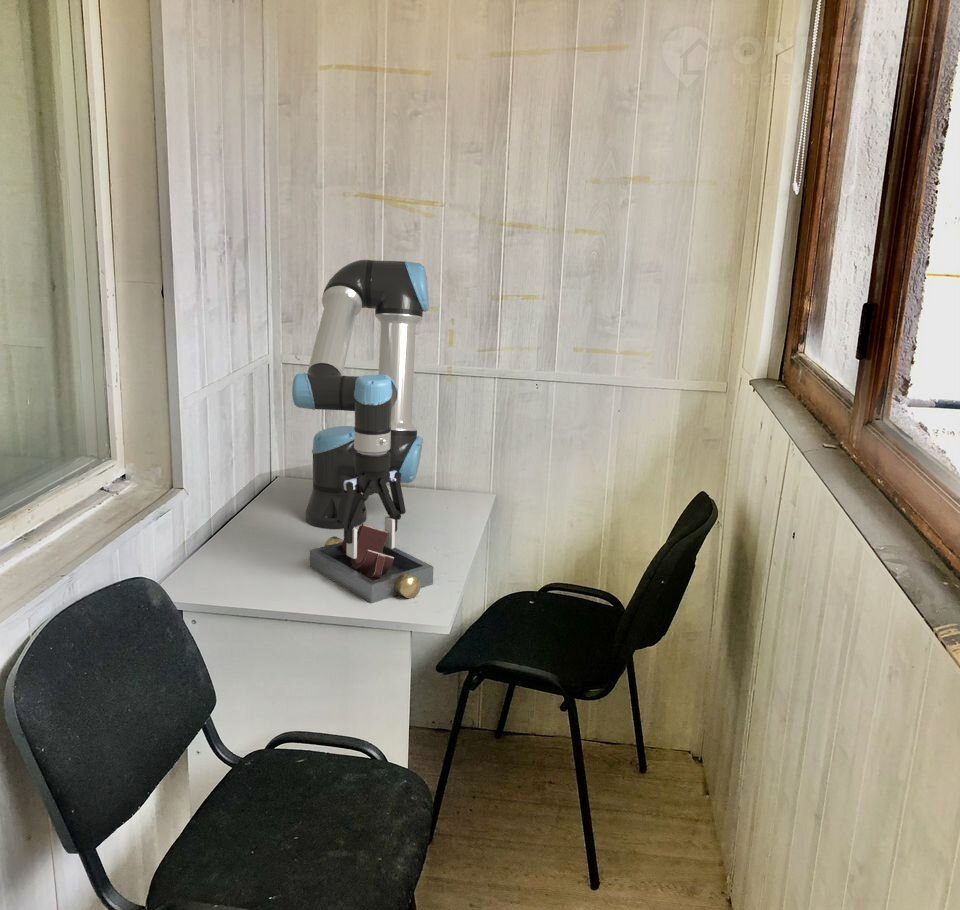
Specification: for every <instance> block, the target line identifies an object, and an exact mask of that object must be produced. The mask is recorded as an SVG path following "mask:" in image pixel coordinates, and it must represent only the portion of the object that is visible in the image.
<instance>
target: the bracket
mask: <svg viewBox="0 0 960 910" xmlns="http://www.w3.org/2000/svg"><path fill="white" fill-rule="evenodd" d="M387 535H388V531H385V529H381V528H378V527H375V526H373V525H368V524H365V523H362V524H360V525H359V526H358V528H357V558H356V559H353V558H352V566H353V567H354V568H356V569H359V570H360V573H362V574H365V575H367V576H369V577H372V578H375V579H379V578H380V577H381V576H383V575H385V574H386V573H387V572H388V571H389V569H390V567H391V565H392V563H393V560H394V557H391V556H388V555H385V554H382V551H383V548H384V545H385V541H386V538H387ZM342 540H343V544H342V547H343V551H344V552H345V554H346V555H347V543H346V542H344V539H342Z"/></svg>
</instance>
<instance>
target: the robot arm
mask: <svg viewBox="0 0 960 910" xmlns="http://www.w3.org/2000/svg"><path fill="white" fill-rule="evenodd" d="M425 268H426V267H425V266H424V265H423V264H422V263H419V262H412V261H406V260H404V261H403V260H401V261H399V260H397V261H396V260H372V259H371V260H370V259H360V260H355V261H353V262H350V263H348V264H346V265H344V266H343V267H341V268H340V269H339V270H338V271H337V272H335V274H333V276H332V277H331V278H330V279H329V281H327V283H326V285H325V287H324V290H323V292H322V293H323V294H322V297H321V304H322V307H323V310H322V315H321V318H320V322H319V326H318V329H317V333H316V337H315V341H314V345H313V350H312V353H311V357H310V361H309V365H308V369H307V372H303V373H297V374H296V375H295V376H294V377H293V381H292V388H291V389H292V391H291V393H292V402H293V404H294V406H296V408H299V409H308V410H319V411H320V410H324V411H325V410H326V411H327V410H328V411H346V412H354V426H353V425H342V426H341V425H339V426H333V427H329V428H325V429H324V428H323V429H322V430H320V431H318V432H316V433H315V434H314V436H313V440H312V450H311V453H312V491H311V493H310V494H311V495H310V497H309V500H308V505H307V507H306V509H305V521H306V522H307V523H308V524H310V525H312V526H314V527H319V528H323V529H333V530H335V529H343V540H344V542H346V543H347V556H349V557H351V558H353V559H356V558H357V532H358V528H356V527H357V526H358V527H359V526H361V525H362V524H365V522H366V521H367V519H368V516H367V514H368V513H367V512H368V511H367V510H368V509H367V507H366V503H365V502H366V501H367V500H368V499H369V496H372V495H374V494H378V496H379V498H380V501H381V503H382V505H383V507H384V509H385V511H386V514H387V515H388V516H384V530H385V531H388V535H387V538H386V541H385V546H387V547H389V548H391V549H393V548H396V545H395V544H396V543H395V542H396V539H395V538H396V537H395V536H396V533H397V531H398V520H400V519H402V515H405V514H406V505H405V501H404V495H403V490H402V484H410V483H412V482H414V481H415V479H416V477H417V475H418V472H419V471H418V470H419V465H420V462H421V461H420V460H421V458H422V457H421V456H422V449H423V437H421V436H419V435H418V429H417V427H416V426H415V425H414V424H413V423H412V420H413V419H412V416H413V397H414V395H413V392H414V370H415V349H416V331H417V330H416V329H417V328H416V327H417V325H418V323H420V322H421V321H422V320H423V315H424V314H423V312H424V313H426V312H428V311H429V310H430V306H429V305H430V299H429V288H428V287H429V286H428V279H427V278H428V277H427V271H426V269H425ZM362 309H374V316H375V318H376V319H377V321H379V322H380V333H379V334H380V336H379V355H378V357H379V358H378V359H379V360H378V374H365V375H361V376H357V375H356V376H355V375H343V374H344V371H345V365H346V360H347V356H348V351H349V347H350V342H351V338H352V333H353V328H354V324H355V319H356V316H358V314H360V312H361V311H362ZM387 483H389V488H388V486H387ZM389 489H390V490H389ZM390 493H391V495H390Z"/></svg>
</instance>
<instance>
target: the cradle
mask: <svg viewBox="0 0 960 910" xmlns="http://www.w3.org/2000/svg"><path fill="white" fill-rule="evenodd" d="M343 540H344V539H342V538H340V537H338V536H331V537H329V538H328V539H327V540H326V542H325V544H324V546H320V547H316V548H313V549H309V568H310V569H312V570H314V571H316V572H317V573H319V574H321V575H323V576H324V577H326V578H328V579H329V580H331V581H332V582H335V583H336V584H338V585H339V586H341V587H344V589H346V590H348V591H350V592H352V593H354V594H355V595H357V596H358V597H360V598H362V599H364V600H365V601H367V602H369V603H371V604H373V603H376V602H380V601H383V600H387V599H389V598H392V597H396V596H399V595H400V596H402V597H404V598H406V599H408V600H409V599H414V598H415V597H417V596H418V595H419V593H420V591H421V588H424V587H425V588H426V587H428V586H431V585H433V584H434V566H433V565H431V564H429V563H427V562H425V561H423V560H421V559H419V558H417V557H416V556H413V555H411V554H409V553H407V552H406V551H404V550H401V549H399V548H397V547H395V548H393V549H391V548H389V547H387V546H385V545H384V548H383V551H382V554H385V555H388V556H391V557H394V560H393V563H392V565H391V567H390V569H389V571H388V572H387V573H386V574H385V575H383V576H381V577H380V578H379V579H375V578H372V577H369V576H367V575H365V574H362V573H360V570H359V569H356V568H354V567H353V566H352V558H351V557H349V556H347V555H346V554H345V552H344V551H343V547H342V544H343Z"/></svg>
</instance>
